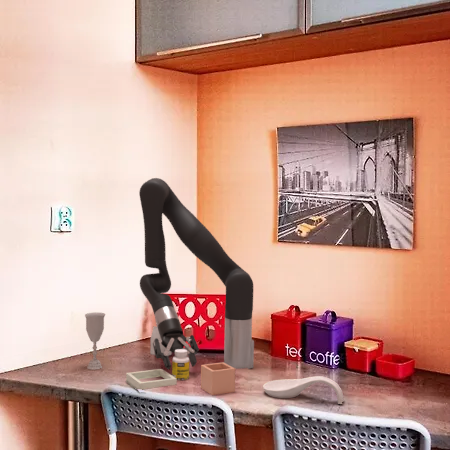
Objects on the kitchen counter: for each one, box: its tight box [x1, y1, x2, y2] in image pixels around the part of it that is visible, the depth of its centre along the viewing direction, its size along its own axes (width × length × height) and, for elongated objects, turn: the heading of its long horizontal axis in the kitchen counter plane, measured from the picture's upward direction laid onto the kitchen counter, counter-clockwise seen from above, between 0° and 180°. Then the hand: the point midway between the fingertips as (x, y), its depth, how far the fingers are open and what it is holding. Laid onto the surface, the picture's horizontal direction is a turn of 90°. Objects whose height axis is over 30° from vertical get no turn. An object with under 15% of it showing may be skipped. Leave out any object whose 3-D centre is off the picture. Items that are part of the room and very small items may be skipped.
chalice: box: [84, 312, 106, 370], centre depth 228 cm, size 7×7×18 cm
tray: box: [125, 368, 178, 390], centre depth 210 cm, size 12×12×3 cm
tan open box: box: [200, 361, 236, 396], centre depth 203 cm, size 8×8×8 cm
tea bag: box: [149, 325, 173, 357], centre depth 247 cm, size 4×7×10 cm, turn 62°
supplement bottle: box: [171, 349, 190, 381], centre depth 215 cm, size 5×5×10 cm
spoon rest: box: [262, 375, 344, 404], centre depth 199 cm, size 24×12×7 cm, turn 74°
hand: (181, 366), depth 214 cm, fingers open, 8 cm apart
